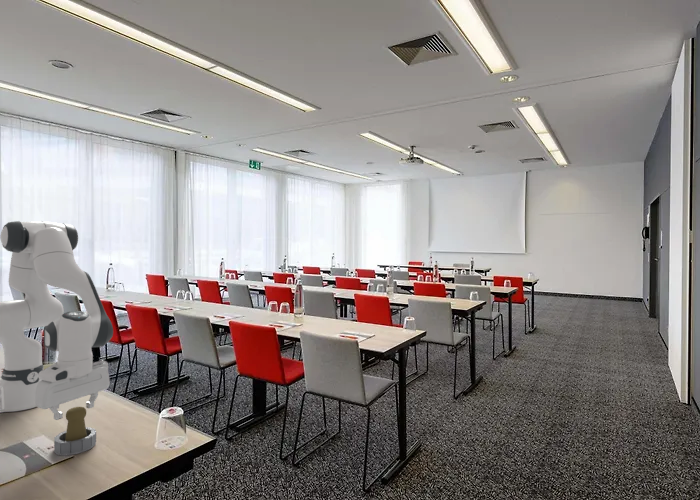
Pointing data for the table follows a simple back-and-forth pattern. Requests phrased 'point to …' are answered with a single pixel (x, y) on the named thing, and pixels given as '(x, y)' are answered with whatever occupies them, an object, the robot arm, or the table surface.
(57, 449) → the faceted grey ring
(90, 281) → the robot arm
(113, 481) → the table surface
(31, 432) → the table surface
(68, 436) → the cork
